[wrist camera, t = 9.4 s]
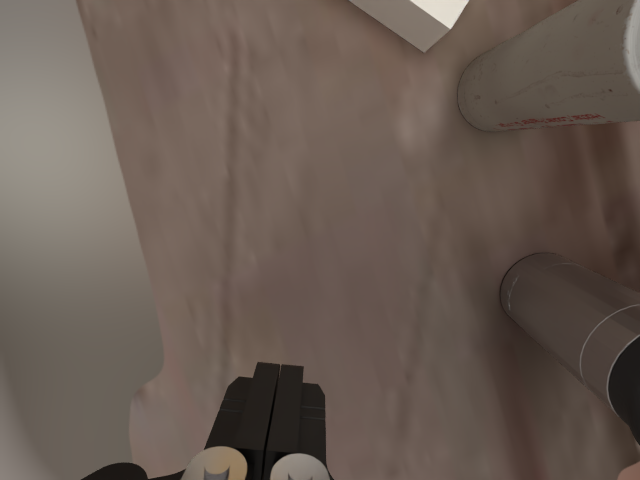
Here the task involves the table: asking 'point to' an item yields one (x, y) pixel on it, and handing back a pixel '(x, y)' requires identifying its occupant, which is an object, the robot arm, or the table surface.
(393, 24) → the switch box
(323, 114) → the table surface
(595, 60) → the thermos bottle
